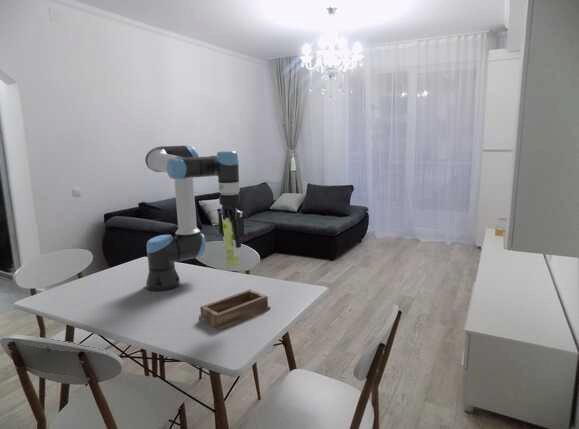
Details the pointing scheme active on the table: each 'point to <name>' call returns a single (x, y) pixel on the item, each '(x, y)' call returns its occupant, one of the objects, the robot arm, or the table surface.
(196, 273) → the table surface
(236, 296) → the tray
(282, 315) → the table surface
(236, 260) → the tube
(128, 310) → the table surface
